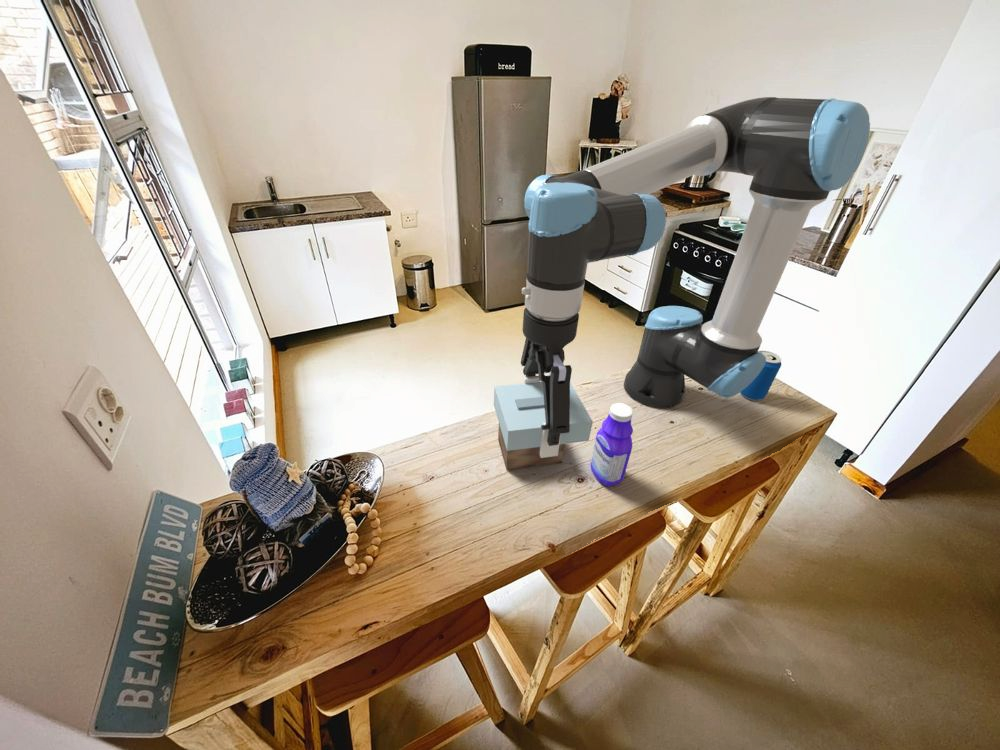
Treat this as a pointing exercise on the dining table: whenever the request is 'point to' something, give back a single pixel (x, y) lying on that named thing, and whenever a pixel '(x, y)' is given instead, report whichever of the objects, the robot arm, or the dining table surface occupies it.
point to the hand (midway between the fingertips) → (538, 429)
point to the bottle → (613, 446)
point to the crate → (526, 456)
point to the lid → (535, 416)
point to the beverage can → (763, 378)
